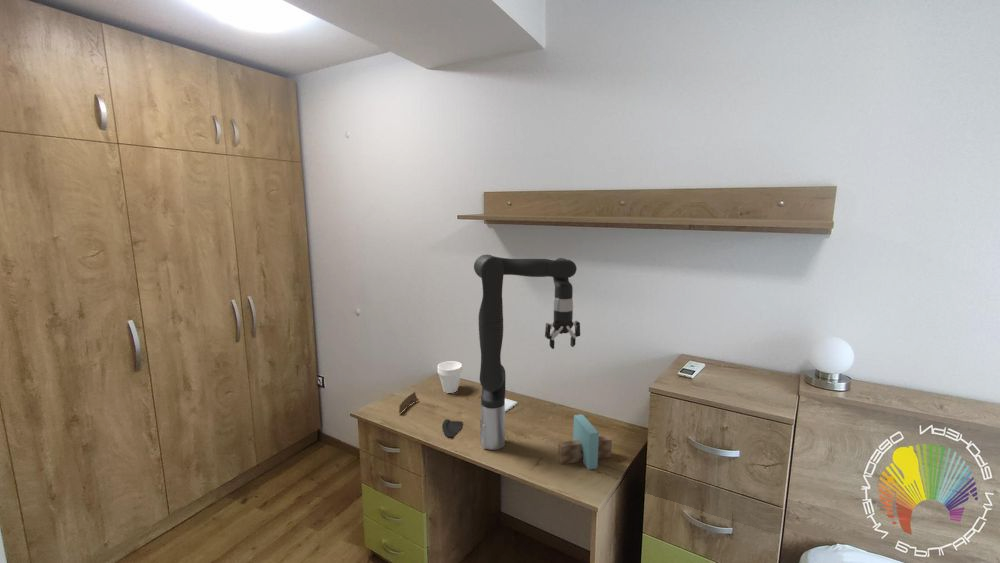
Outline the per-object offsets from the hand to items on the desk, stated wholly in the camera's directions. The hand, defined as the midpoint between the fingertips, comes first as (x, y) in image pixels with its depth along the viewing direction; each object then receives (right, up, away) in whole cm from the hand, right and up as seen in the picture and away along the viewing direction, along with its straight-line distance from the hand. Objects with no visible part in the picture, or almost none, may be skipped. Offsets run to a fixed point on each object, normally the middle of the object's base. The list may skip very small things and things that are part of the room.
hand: (562, 347), depth 180 cm
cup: (-50, -29, +44) cm, 73 cm away
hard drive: (-24, -33, +27) cm, 49 cm away
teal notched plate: (+6, -39, -14) cm, 42 cm away
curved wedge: (-46, -36, +8) cm, 59 cm away
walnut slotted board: (+6, -39, -14) cm, 42 cm away
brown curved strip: (-68, -32, +27) cm, 80 cm away
